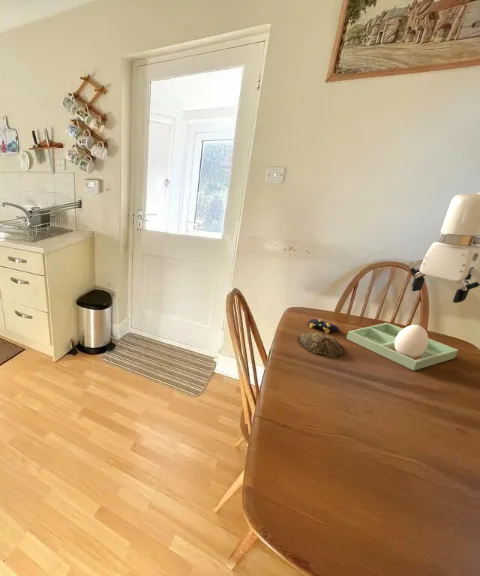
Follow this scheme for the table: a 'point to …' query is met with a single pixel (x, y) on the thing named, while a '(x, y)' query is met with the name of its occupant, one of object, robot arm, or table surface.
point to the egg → (412, 341)
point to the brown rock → (321, 344)
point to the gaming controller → (323, 326)
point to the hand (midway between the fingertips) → (435, 295)
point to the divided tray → (384, 344)
